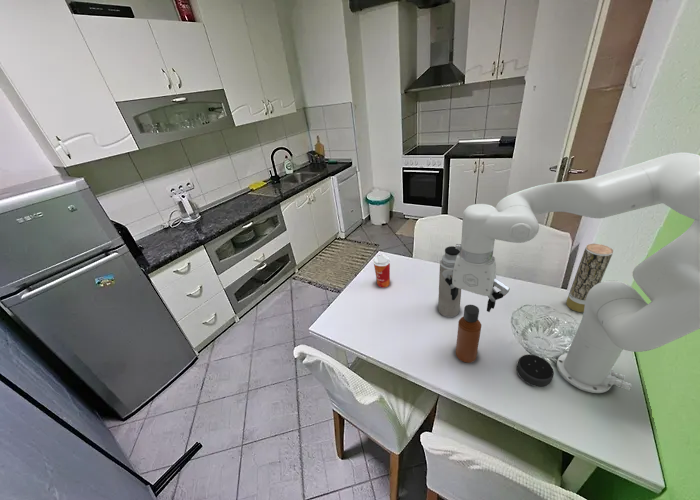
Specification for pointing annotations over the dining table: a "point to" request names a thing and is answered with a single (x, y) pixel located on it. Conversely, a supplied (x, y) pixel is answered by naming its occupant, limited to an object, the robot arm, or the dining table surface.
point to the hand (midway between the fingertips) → (471, 302)
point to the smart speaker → (535, 370)
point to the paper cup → (382, 270)
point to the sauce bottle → (467, 340)
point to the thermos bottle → (445, 298)
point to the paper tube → (588, 274)
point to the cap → (471, 313)
